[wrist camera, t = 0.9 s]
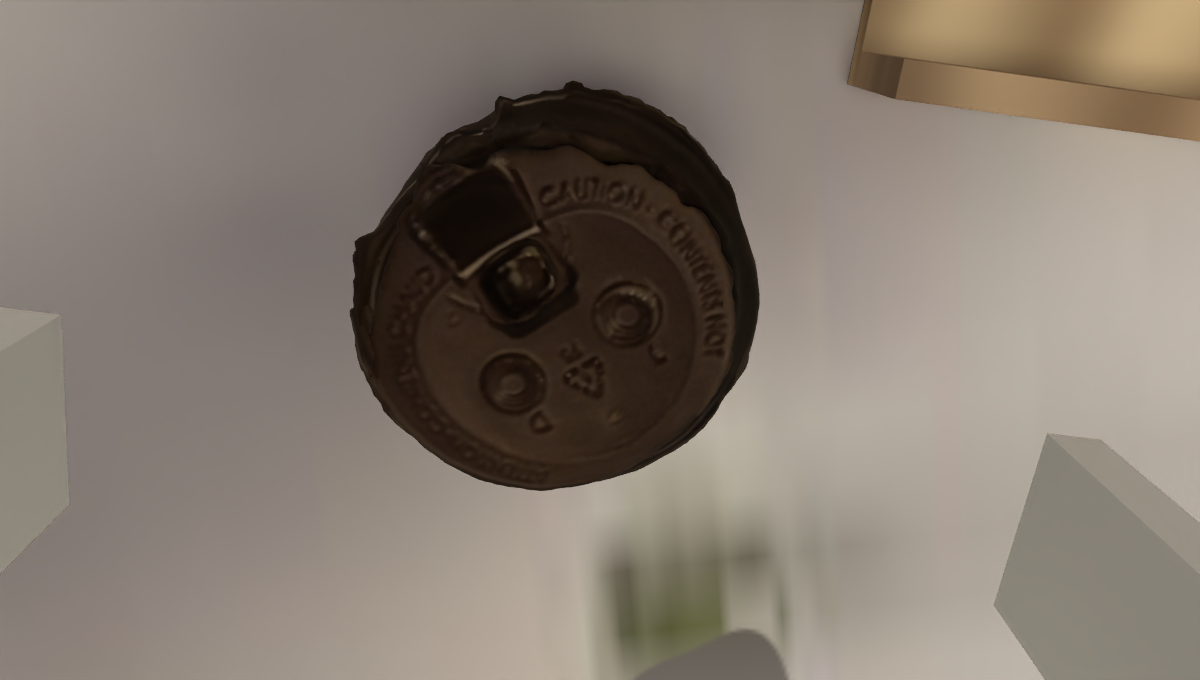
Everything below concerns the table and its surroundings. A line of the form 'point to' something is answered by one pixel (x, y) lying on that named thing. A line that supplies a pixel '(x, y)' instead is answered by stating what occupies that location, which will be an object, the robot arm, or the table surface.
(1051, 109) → the wooden stepped block
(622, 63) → the table surface
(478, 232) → the coffee cup
